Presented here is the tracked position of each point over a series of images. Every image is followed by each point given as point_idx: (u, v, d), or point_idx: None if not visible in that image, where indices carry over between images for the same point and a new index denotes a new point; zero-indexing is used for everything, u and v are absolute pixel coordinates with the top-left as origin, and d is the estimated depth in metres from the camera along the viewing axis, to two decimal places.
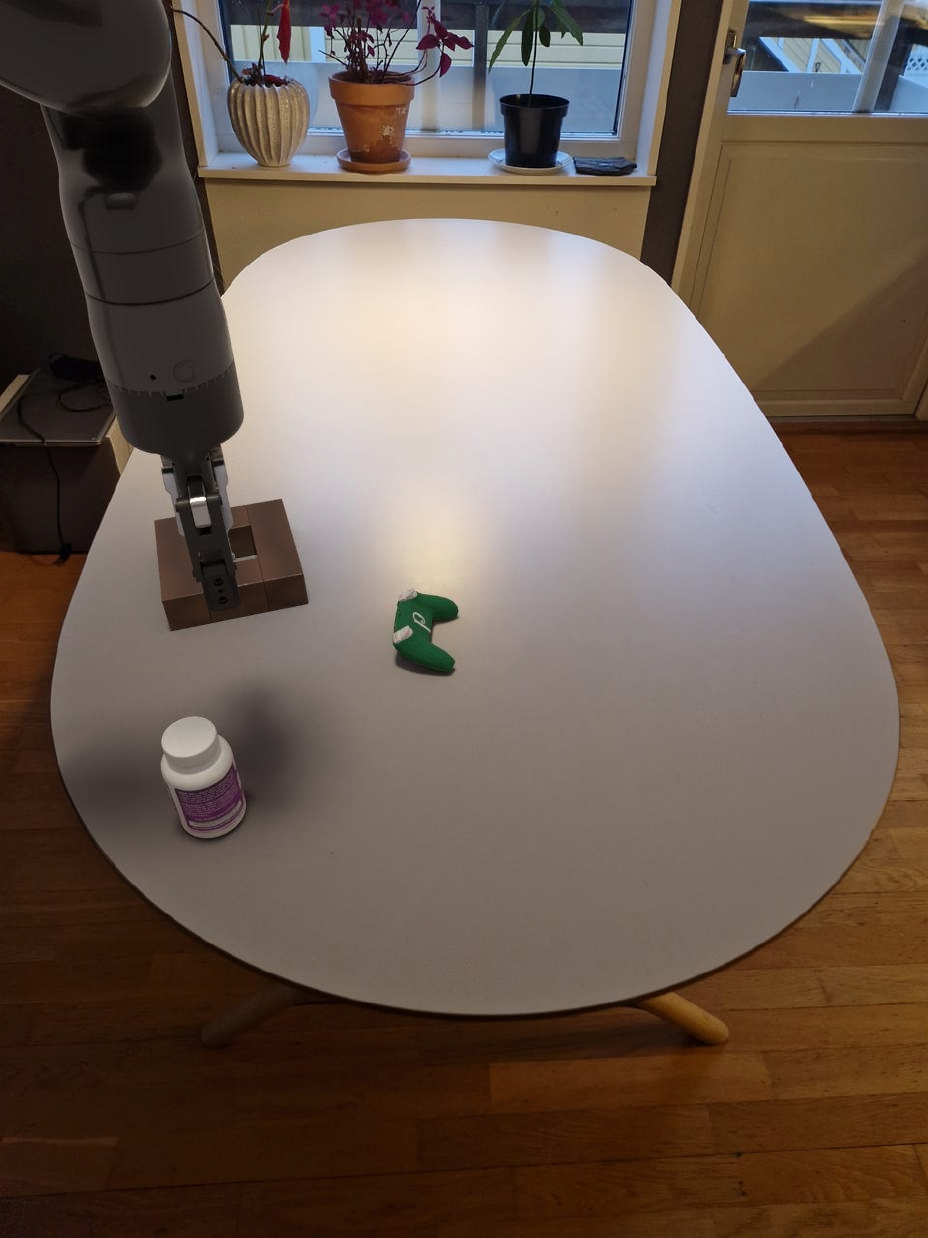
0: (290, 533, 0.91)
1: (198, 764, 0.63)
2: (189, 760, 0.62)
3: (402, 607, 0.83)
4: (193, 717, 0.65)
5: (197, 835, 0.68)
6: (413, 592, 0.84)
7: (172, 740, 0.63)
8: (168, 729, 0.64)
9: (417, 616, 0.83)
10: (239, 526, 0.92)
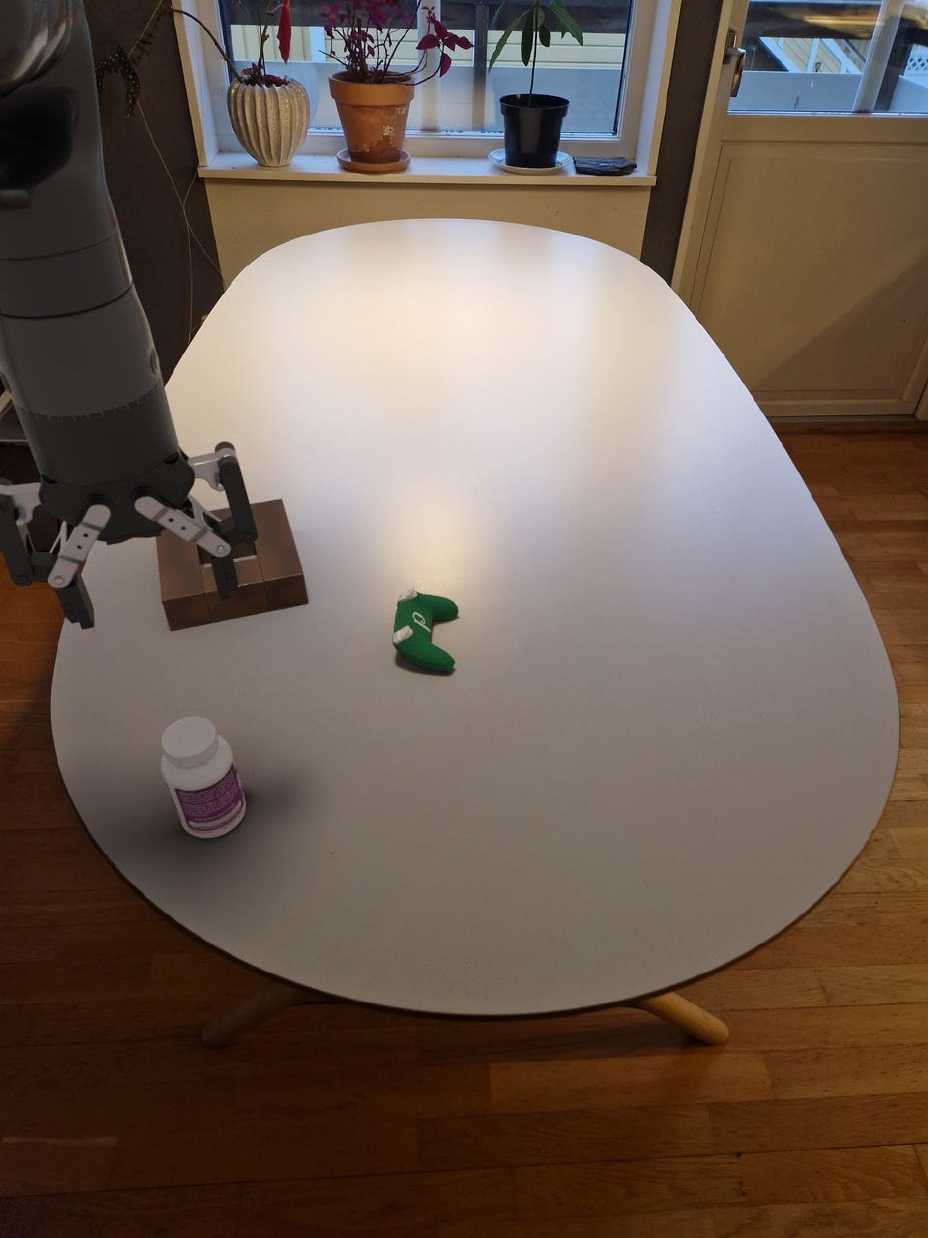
0: (290, 533, 0.91)
1: (198, 764, 0.63)
2: (189, 760, 0.62)
3: (402, 607, 0.83)
4: (193, 717, 0.65)
5: (197, 835, 0.68)
6: (413, 592, 0.84)
7: (172, 740, 0.63)
8: (168, 729, 0.64)
9: (417, 616, 0.83)
10: None
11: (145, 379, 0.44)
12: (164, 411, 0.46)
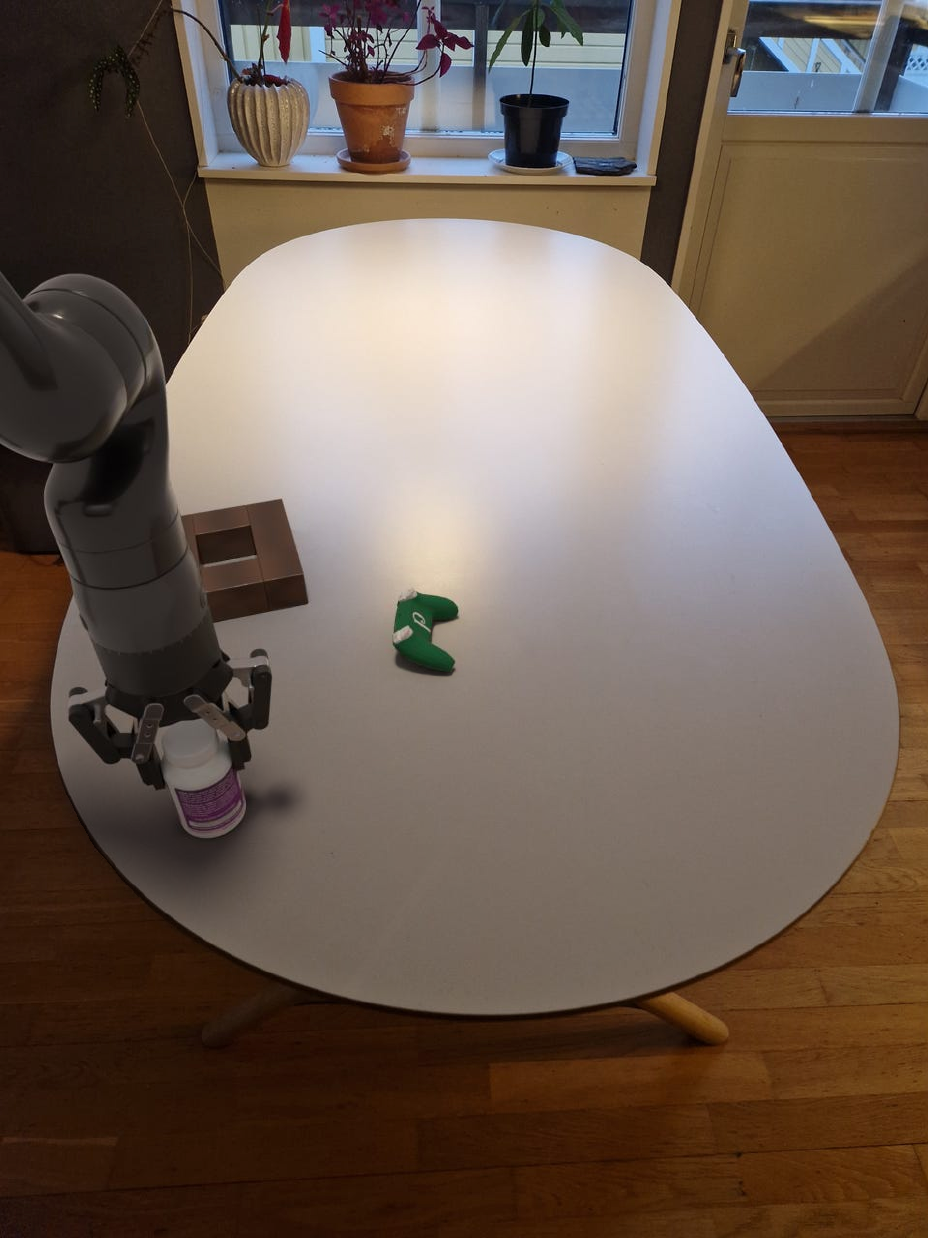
0: (290, 533, 0.91)
1: (198, 765, 0.63)
2: (189, 760, 0.62)
3: (402, 607, 0.83)
4: None
5: (197, 835, 0.68)
6: (413, 592, 0.84)
7: (172, 740, 0.63)
8: (168, 729, 0.64)
9: (417, 616, 0.83)
10: (239, 526, 0.92)
11: (196, 616, 0.54)
12: (210, 633, 0.56)
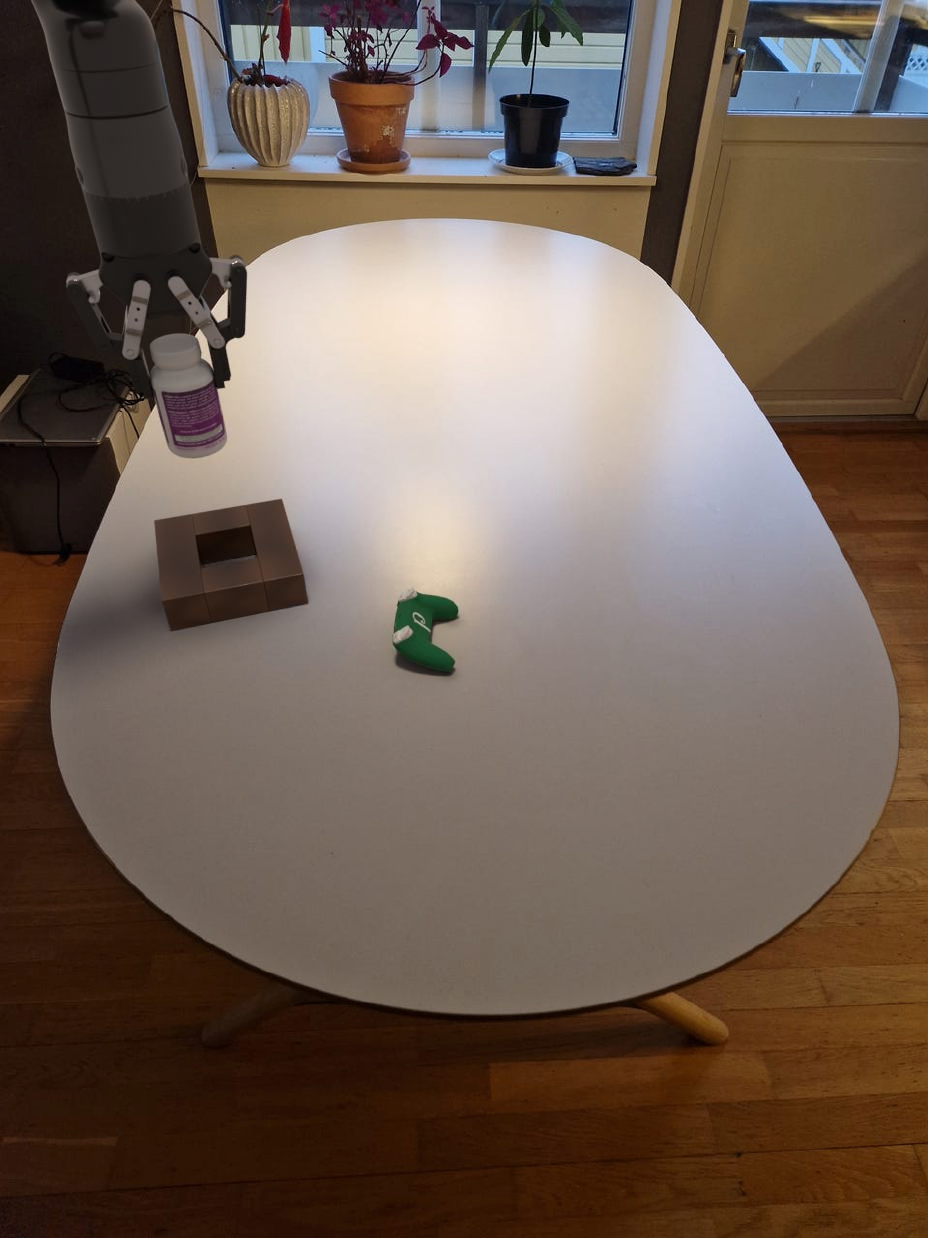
0: (290, 533, 0.91)
1: (182, 366, 0.71)
2: (174, 358, 0.70)
3: (402, 607, 0.83)
4: None
5: (182, 454, 0.75)
6: (413, 592, 0.84)
7: (159, 345, 0.71)
8: (156, 339, 0.72)
9: (417, 616, 0.83)
10: (239, 526, 0.92)
11: (177, 176, 0.61)
12: (190, 206, 0.64)
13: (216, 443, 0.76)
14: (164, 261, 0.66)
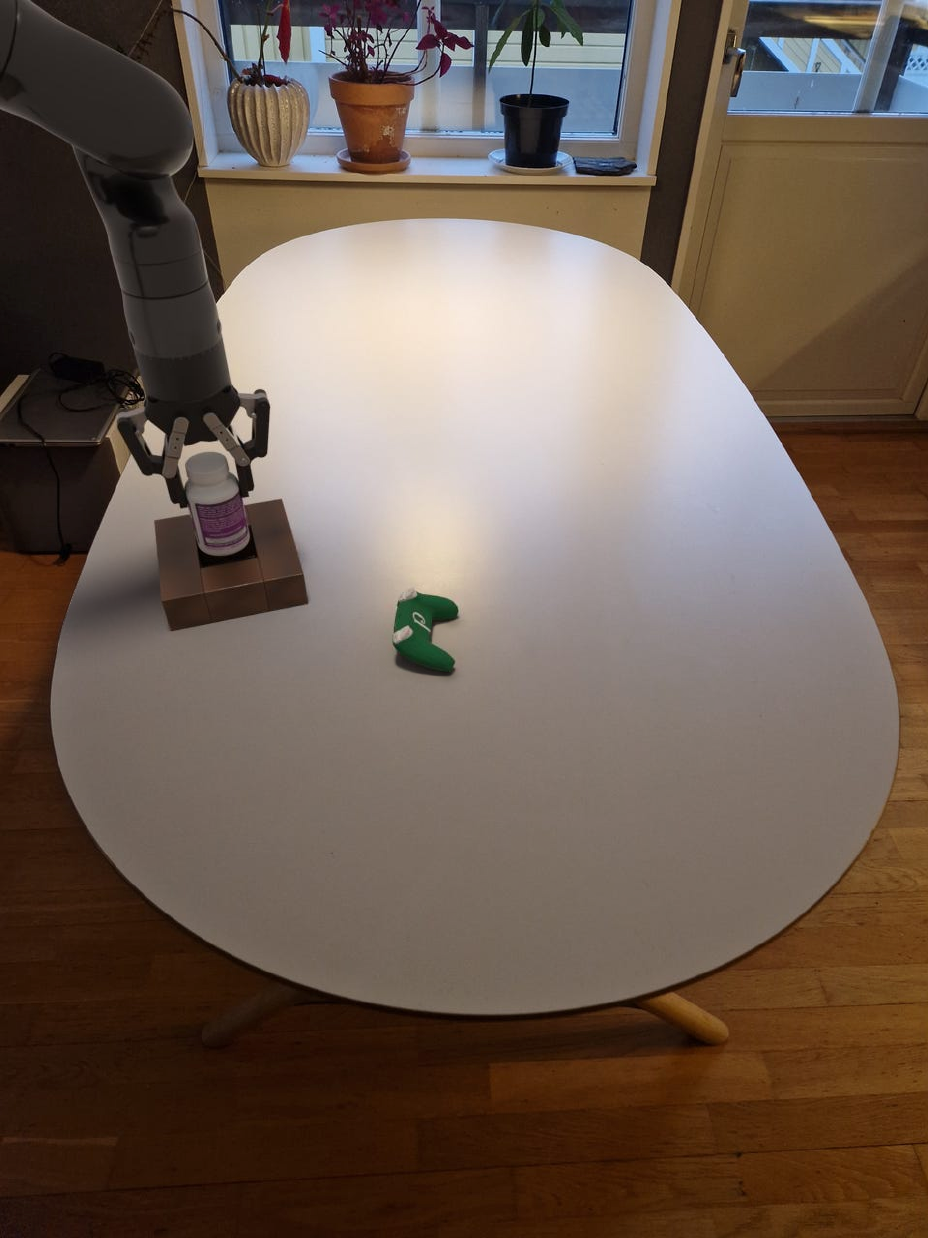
0: (290, 533, 0.91)
1: (213, 482, 0.82)
2: (206, 476, 0.81)
3: (402, 607, 0.83)
4: (209, 452, 0.84)
5: (211, 552, 0.87)
6: (413, 592, 0.84)
7: (193, 464, 0.82)
8: (190, 458, 0.83)
9: (417, 616, 0.83)
10: None
11: (214, 337, 0.73)
12: (223, 357, 0.75)
13: (241, 543, 0.87)
14: (200, 400, 0.77)
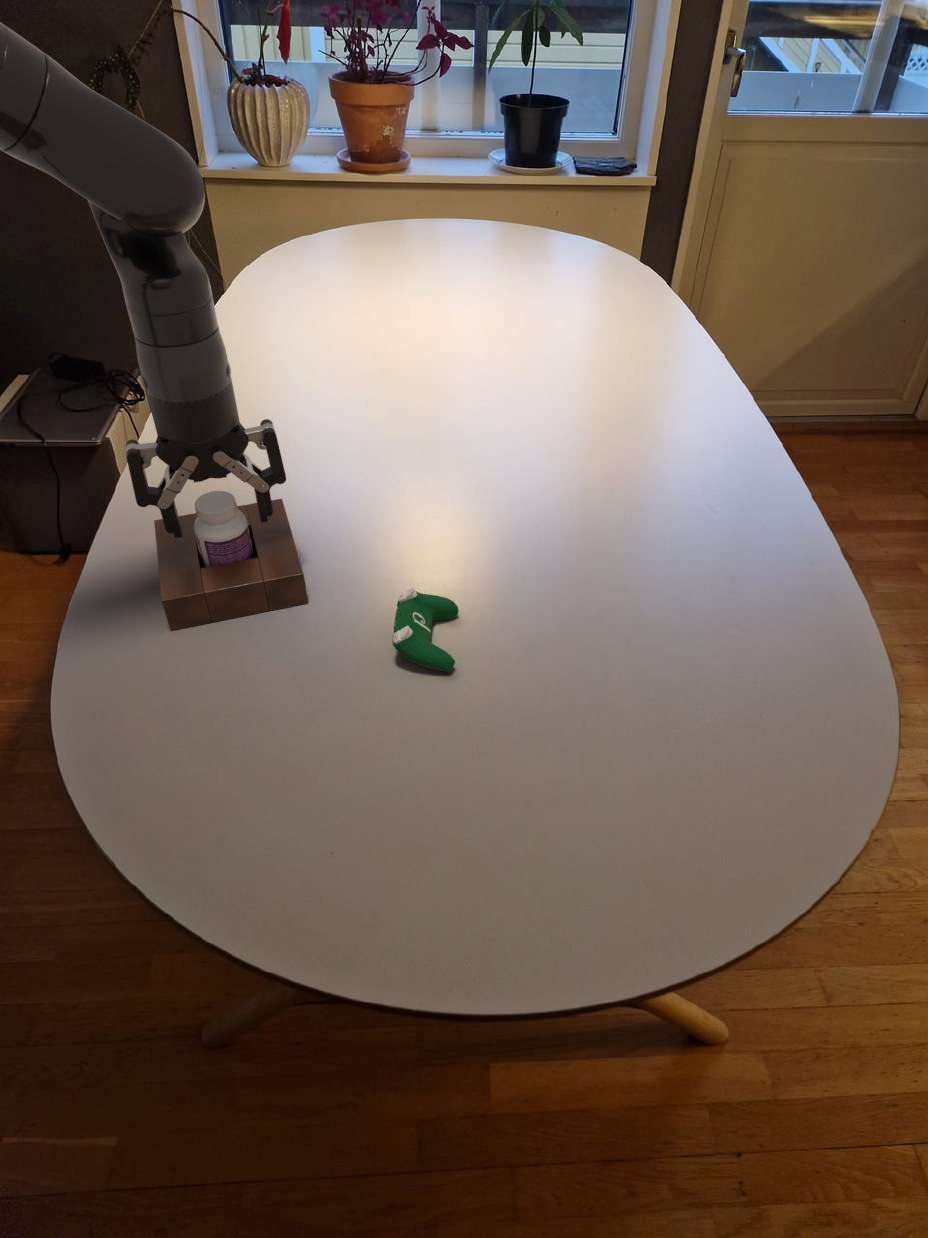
0: (290, 533, 0.91)
1: (222, 521, 0.85)
2: (215, 516, 0.84)
3: (402, 607, 0.83)
4: (218, 491, 0.87)
5: None
6: (413, 592, 0.84)
7: (202, 503, 0.85)
8: (199, 497, 0.86)
9: (417, 616, 0.83)
10: None
11: (223, 380, 0.76)
12: (232, 399, 0.78)
13: None
14: None
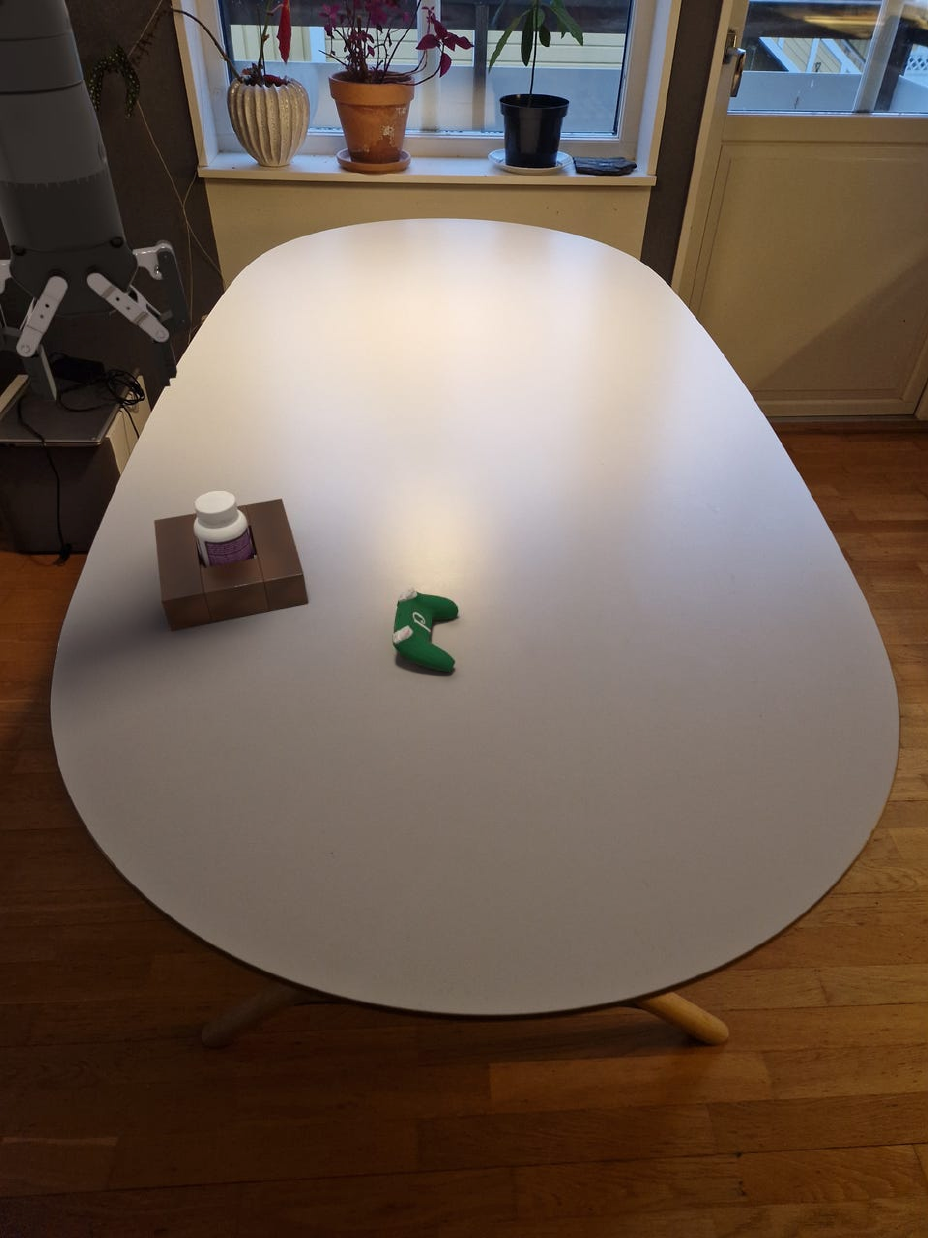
0: (290, 533, 0.91)
1: (222, 521, 0.85)
2: (215, 516, 0.84)
3: (402, 607, 0.83)
4: (218, 491, 0.87)
5: None
6: (413, 592, 0.84)
7: (202, 503, 0.85)
8: (199, 497, 0.86)
9: (417, 616, 0.83)
10: None
11: (93, 161, 0.56)
12: (110, 196, 0.58)
13: None
14: (82, 256, 0.60)
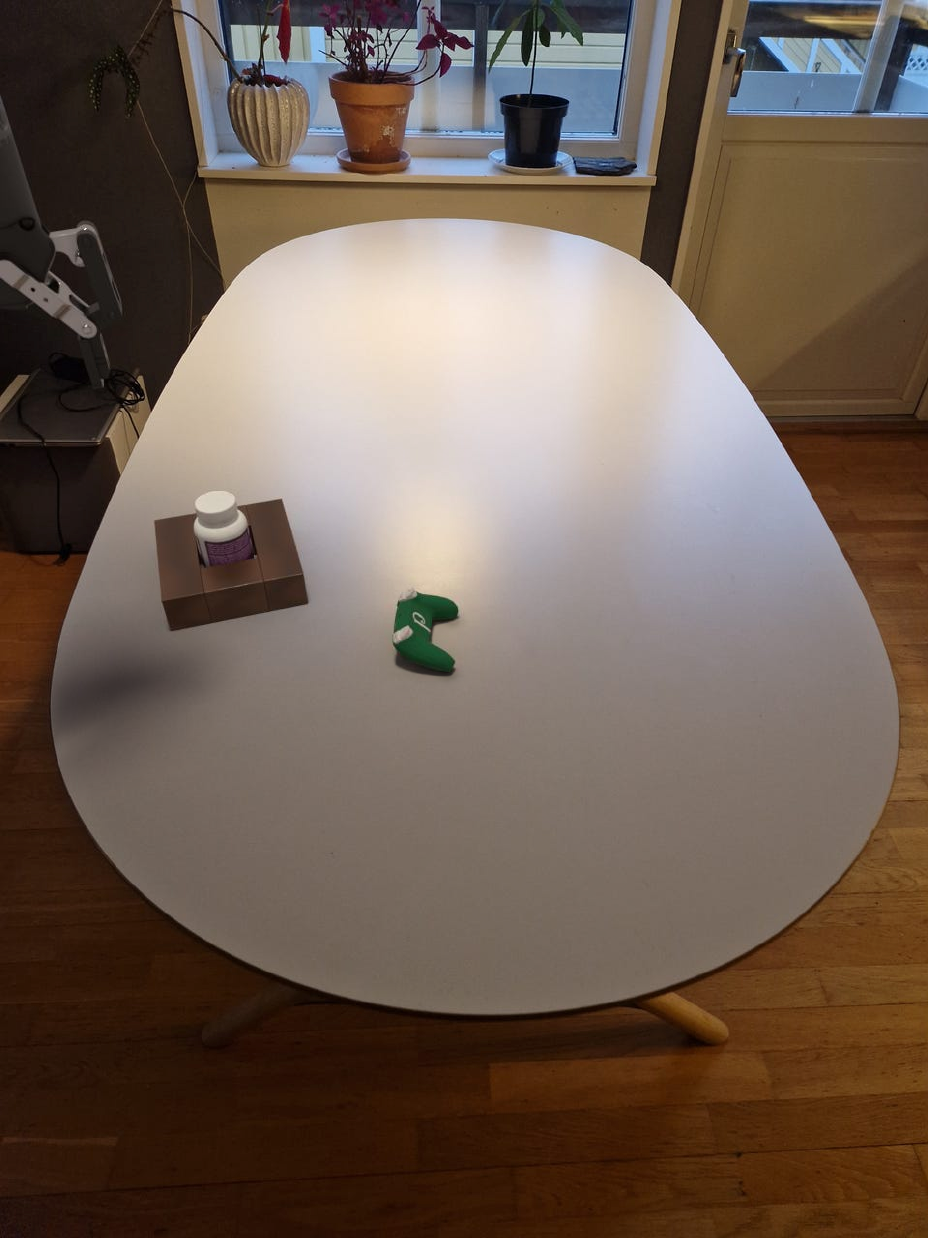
0: (290, 533, 0.91)
1: (222, 521, 0.85)
2: (215, 516, 0.84)
3: (402, 607, 0.83)
4: (218, 491, 0.87)
5: None
6: (413, 592, 0.84)
7: (202, 503, 0.85)
8: (199, 497, 0.86)
9: (417, 616, 0.83)
10: None
11: None
12: (14, 170, 0.50)
13: None
14: None
